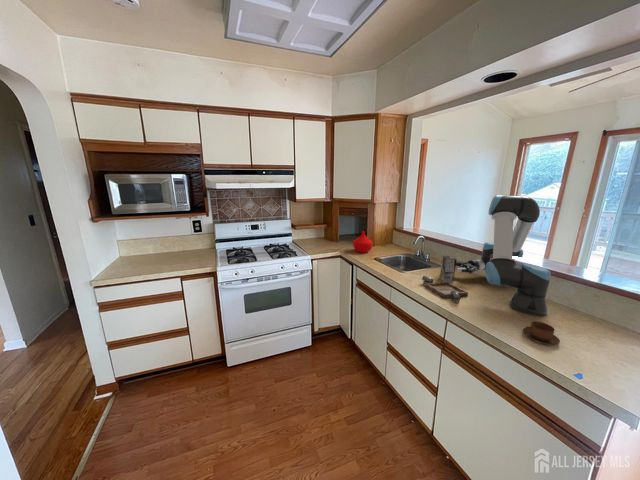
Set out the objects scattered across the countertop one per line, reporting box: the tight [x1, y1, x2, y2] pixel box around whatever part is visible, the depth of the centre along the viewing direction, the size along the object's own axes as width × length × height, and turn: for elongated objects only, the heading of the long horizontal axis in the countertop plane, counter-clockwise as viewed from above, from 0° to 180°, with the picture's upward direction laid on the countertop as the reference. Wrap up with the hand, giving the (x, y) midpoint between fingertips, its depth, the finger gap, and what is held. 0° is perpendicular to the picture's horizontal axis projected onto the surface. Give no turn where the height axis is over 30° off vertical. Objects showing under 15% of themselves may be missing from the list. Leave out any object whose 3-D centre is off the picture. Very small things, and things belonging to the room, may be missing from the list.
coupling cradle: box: [425, 281, 469, 300], centre depth 151 cm, size 16×16×2 cm
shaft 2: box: [450, 291, 462, 304], centre depth 138 cm, size 6×3×5 cm, turn 174°
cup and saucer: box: [522, 320, 561, 346], centre depth 105 cm, size 12×12×6 cm
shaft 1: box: [421, 275, 434, 286], centre depth 160 cm, size 6×3×5 cm, turn 35°
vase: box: [352, 230, 374, 254], centre depth 234 cm, size 18×18×19 cm
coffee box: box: [439, 255, 457, 284], centre depth 168 cm, size 9×6×16 cm
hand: (449, 267), depth 168 cm, fingers open, 13 cm apart
